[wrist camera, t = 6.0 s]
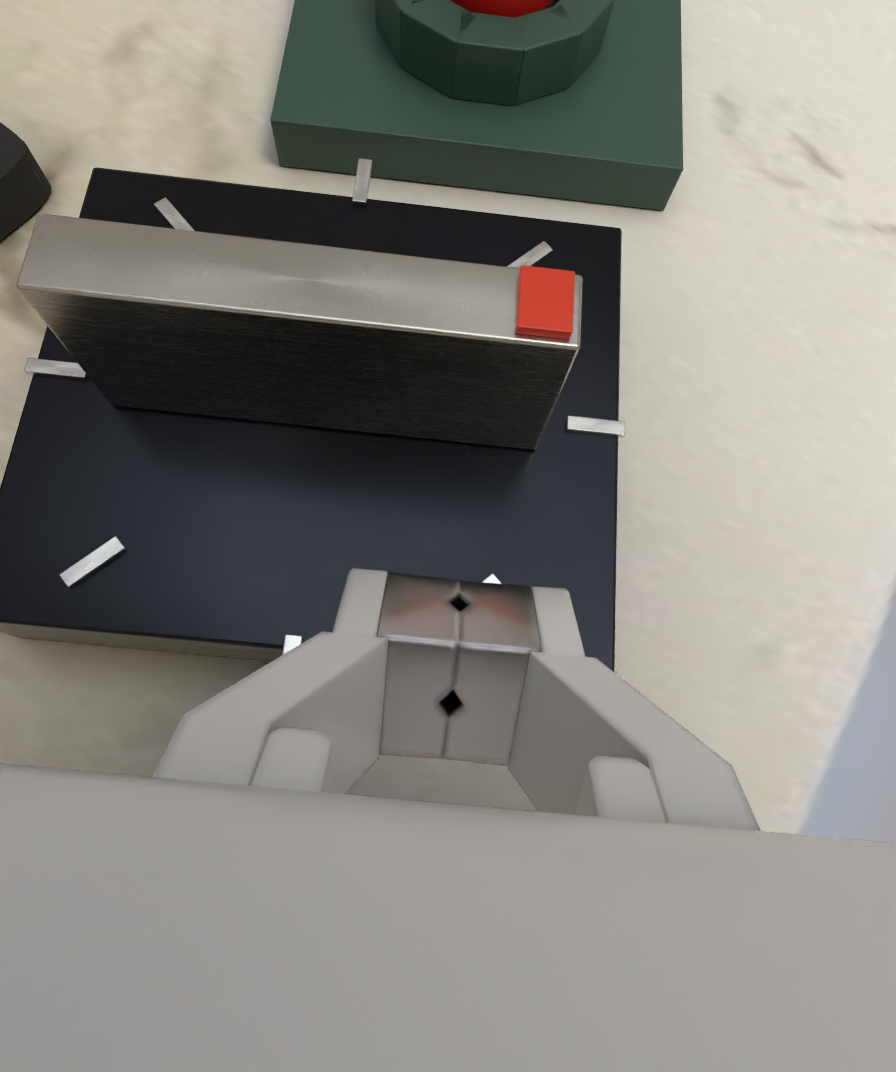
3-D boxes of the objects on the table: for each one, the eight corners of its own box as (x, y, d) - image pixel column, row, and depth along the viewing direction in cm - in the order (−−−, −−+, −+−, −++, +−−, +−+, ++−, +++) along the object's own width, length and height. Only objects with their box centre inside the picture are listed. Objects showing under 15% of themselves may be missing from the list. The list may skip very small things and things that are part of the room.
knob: (110, 406, 17) (6, 277, 13) (125, 346, 18) (30, 201, 13) (536, 451, 17) (584, 341, 13) (539, 391, 18) (586, 264, 13)
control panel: (2, 683, 18) (-65, 669, 15) (131, 200, 22) (95, 127, 19) (590, 737, 18) (621, 732, 15) (602, 255, 22) (628, 189, 20)
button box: (279, 166, 23) (258, 62, 19) (323, -63, 26) (312, -187, 22) (664, 211, 23) (708, 117, 20) (662, -19, 26) (701, -135, 23)
